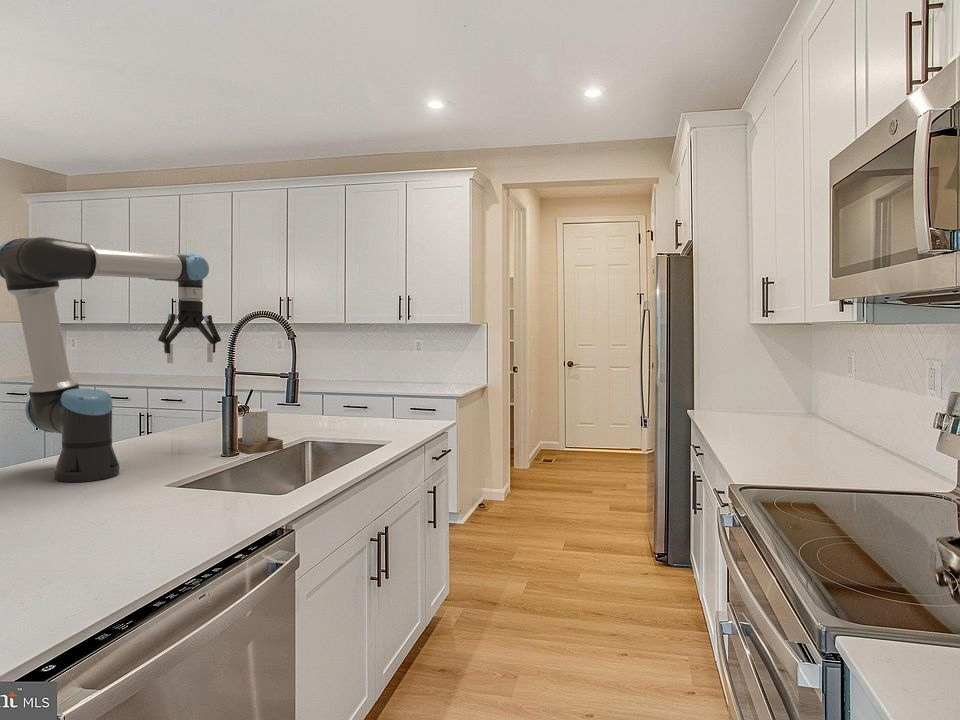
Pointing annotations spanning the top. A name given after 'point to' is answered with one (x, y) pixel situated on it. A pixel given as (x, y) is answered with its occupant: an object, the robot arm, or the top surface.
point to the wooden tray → (260, 446)
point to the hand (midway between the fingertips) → (190, 362)
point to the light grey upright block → (255, 426)
